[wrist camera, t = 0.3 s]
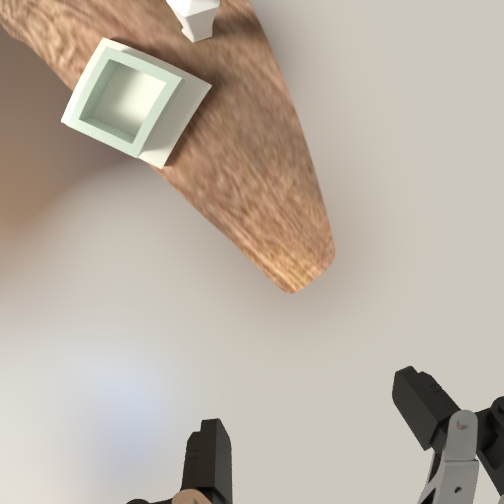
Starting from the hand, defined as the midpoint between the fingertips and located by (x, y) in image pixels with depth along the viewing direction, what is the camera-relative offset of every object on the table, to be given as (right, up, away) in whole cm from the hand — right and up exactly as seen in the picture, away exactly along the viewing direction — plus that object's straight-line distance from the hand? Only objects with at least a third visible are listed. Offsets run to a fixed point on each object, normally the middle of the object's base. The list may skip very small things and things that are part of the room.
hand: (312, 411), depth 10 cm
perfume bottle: (-9, +34, +14) cm, 38 cm away
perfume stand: (-17, +26, +17) cm, 35 cm away
